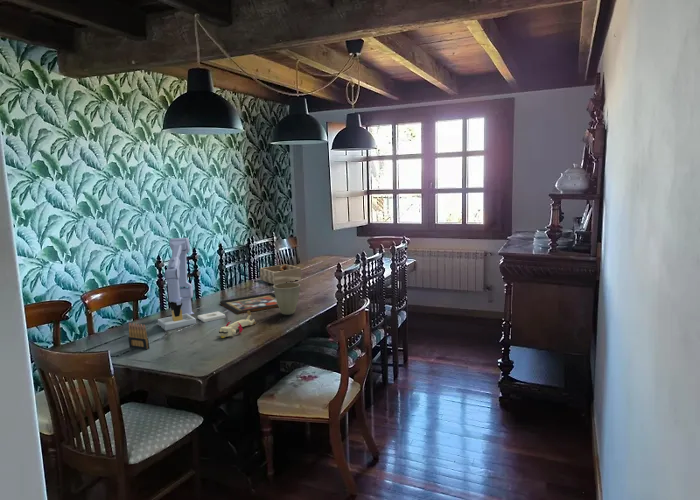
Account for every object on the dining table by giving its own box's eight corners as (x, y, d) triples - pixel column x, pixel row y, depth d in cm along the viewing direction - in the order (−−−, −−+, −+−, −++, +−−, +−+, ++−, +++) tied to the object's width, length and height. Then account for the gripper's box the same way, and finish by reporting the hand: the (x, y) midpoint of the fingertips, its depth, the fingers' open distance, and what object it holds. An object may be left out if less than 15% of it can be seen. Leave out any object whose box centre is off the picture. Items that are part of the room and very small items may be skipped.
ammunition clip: (129, 347, 224) (126, 322, 222) (132, 346, 225) (129, 321, 223) (146, 349, 219) (143, 324, 218) (149, 348, 221) (146, 323, 219)
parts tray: (158, 324, 258) (157, 319, 257) (187, 318, 267) (187, 313, 267) (165, 330, 247) (165, 325, 246) (196, 324, 256) (195, 318, 256)
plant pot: (276, 317, 262) (275, 289, 259) (273, 310, 276) (271, 283, 273) (303, 314, 266) (302, 286, 263) (298, 308, 280) (297, 281, 278)
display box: (260, 279, 362) (259, 268, 361) (286, 275, 375) (285, 264, 374) (274, 284, 344) (274, 272, 343) (301, 279, 357) (300, 268, 355)
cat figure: (243, 325, 255) (212, 337, 232) (242, 309, 254) (212, 319, 231) (259, 327, 251) (229, 339, 228) (258, 310, 250) (229, 320, 227)
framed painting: (240, 317, 267) (240, 312, 267) (214, 306, 294) (214, 301, 294) (298, 304, 291) (297, 299, 291) (268, 295, 318) (268, 291, 318)
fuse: (172, 320, 257) (171, 309, 256) (181, 318, 259) (180, 308, 258) (174, 321, 254) (173, 311, 253) (182, 319, 257) (181, 309, 256)
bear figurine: (271, 279, 362) (270, 264, 360) (291, 278, 364) (290, 262, 362) (271, 283, 349) (270, 267, 347) (291, 282, 351) (291, 266, 349)
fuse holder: (197, 318, 265) (197, 315, 265) (218, 314, 273) (218, 311, 272) (204, 322, 258) (204, 319, 257) (225, 318, 265) (225, 314, 264)
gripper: (185, 291, 251) (188, 316, 253) (177, 287, 262) (179, 311, 264) (172, 294, 246) (174, 319, 248) (164, 289, 258) (166, 313, 260)
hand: (176, 315), depth 256 cm, fingers closed on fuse, 3 cm apart
